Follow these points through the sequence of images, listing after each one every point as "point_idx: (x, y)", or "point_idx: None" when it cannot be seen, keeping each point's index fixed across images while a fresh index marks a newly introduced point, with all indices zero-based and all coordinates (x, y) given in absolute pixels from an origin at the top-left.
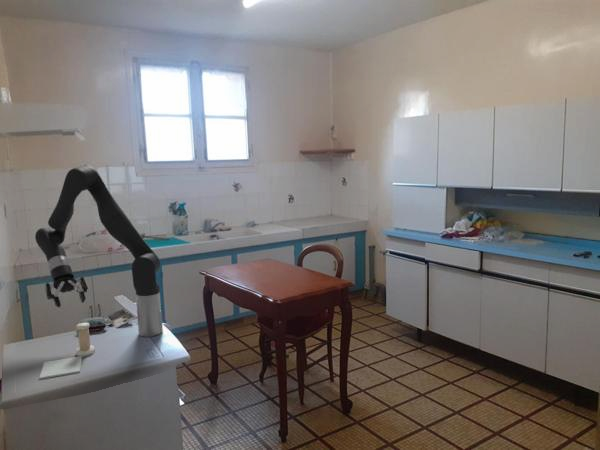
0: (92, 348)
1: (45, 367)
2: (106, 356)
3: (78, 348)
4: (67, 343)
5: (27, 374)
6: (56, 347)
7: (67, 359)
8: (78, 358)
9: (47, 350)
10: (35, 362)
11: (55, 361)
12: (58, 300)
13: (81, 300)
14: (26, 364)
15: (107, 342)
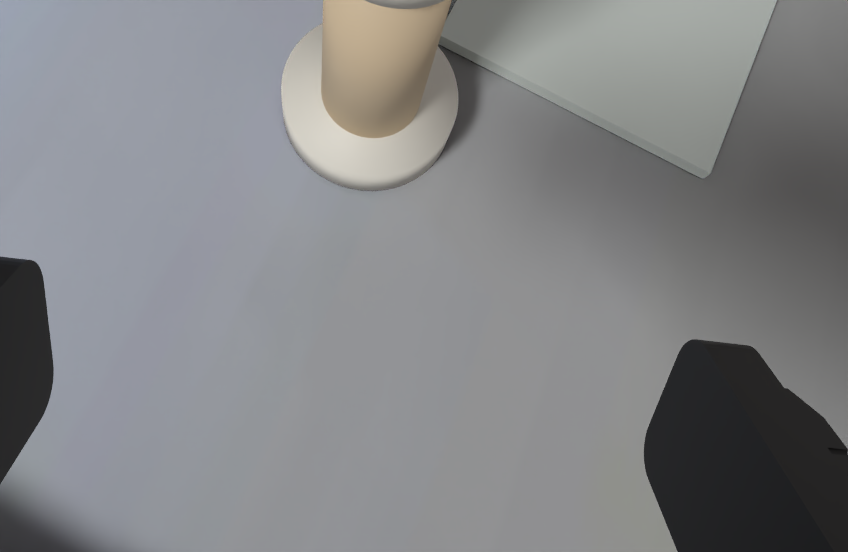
0: (318, 42)
1: (726, 71)
2: None
3: (411, 153)
4: (391, 496)
5: (838, 101)
6: (514, 476)
7: (551, 71)
8: (477, 15)
9: (603, 469)
10: (751, 272)
11: (637, 113)
12: (794, 437)
13: (22, 395)
14: (815, 292)
15: (90, 169)
